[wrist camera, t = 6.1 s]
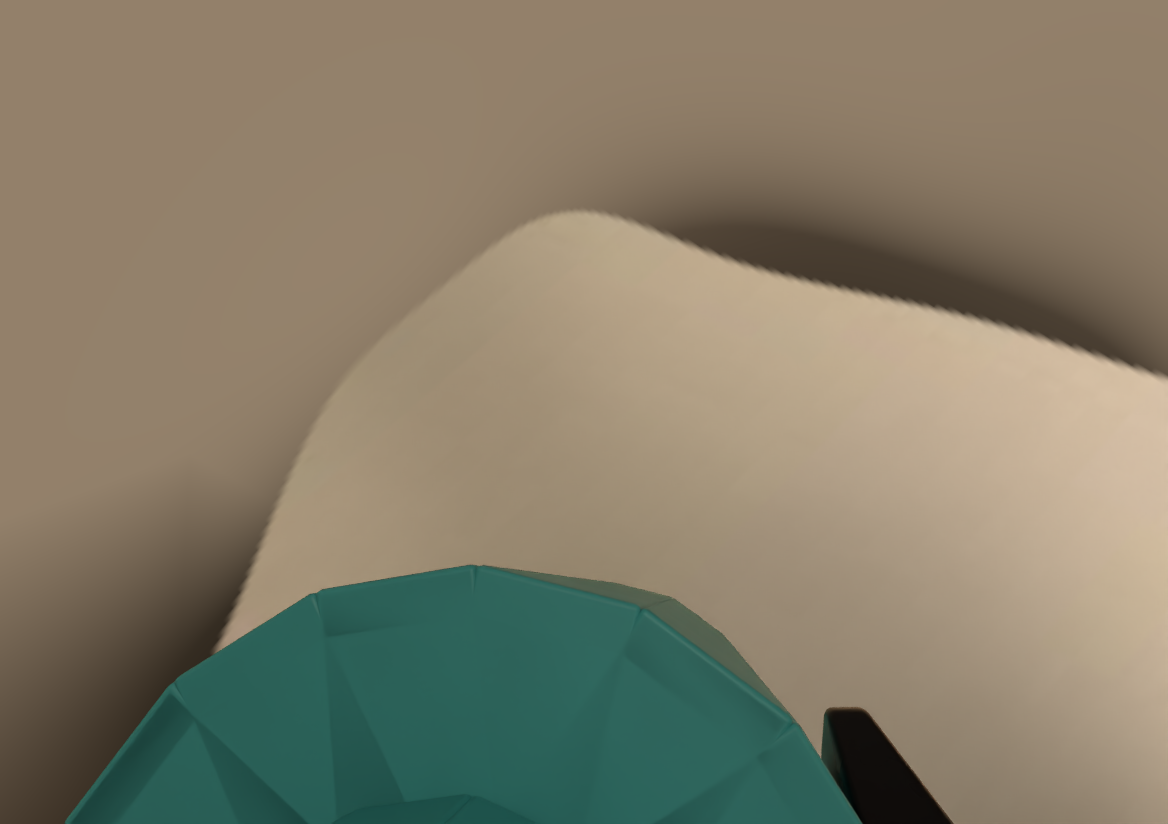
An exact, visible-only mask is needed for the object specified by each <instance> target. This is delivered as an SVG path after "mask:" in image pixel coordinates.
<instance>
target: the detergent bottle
mask: <svg viewBox="0 0 1168 824" xmlns="http://www.w3.org/2000/svg"><path fill="white" fill-rule="evenodd" d="M65 824H862V822H861V821H860V819H859V817H858V816H857V814H856V813H855V811H854V810H853V808H852V806H851V805H850V803H849V802H848V800H847V799H846V797H845V795H844V794H843V792H842V791H841V789H840V788H839V786H838V785H837V783H836V781H835V780H834V778H833V777H832V775H831V774H830V772H829V770H828V769H827V767H826V766H825V764H824V763H823V761H822V759H821V758H820V756H819V755H818V753H817V752H816V750H815V748H814V747H813V745H812V744H811V742H810V741H809V739H808V737H807V736H806V734H805V733H804V731H803V730H802V728H801V726H800V725H799V724H798V723H797V722H796V720H795V719H794V718H793V717H792V716H791V714H790V713H789V712H788V711H787V710H786V709H785V707H784V706H783V705H782V704H781V703H780V701H779V700H778V699H777V698H776V697H775V695H774V694H773V693H772V692H771V691H770V689H769V688H768V687H767V686H766V685H765V683H764V682H763V681H762V680H761V679H760V677H759V676H758V675H757V674H756V673H755V672H754V670H753V669H752V668H751V667H750V666H749V664H748V663H747V662H746V661H745V660H744V658H743V657H742V656H741V655H740V654H739V652H738V651H737V650H736V649H735V648H734V646H733V645H732V644H731V643H730V642H729V640H728V639H727V638H726V637H725V636H724V635H723V634H722V633H721V632H719V631H718V630H717V629H715V628H714V627H713V626H711V625H710V624H708V623H707V622H706V621H704V620H703V619H702V618H701V617H699V616H698V615H697V614H695V613H694V612H692V611H691V610H689V609H688V608H687V607H685V606H684V605H683V604H681V603H680V602H679V601H677V600H676V599H674V598H671V597H670V596H666V595H662V594H658V593H654V592H650V591H646V590H642V589H637V588H633V587H629V586H625V585H621V584H617V583H612V582H604V581H597V580H590V579H582V578H575V577H567V576H560V575H552V574H545V573H538V572H530V571H523V570H515V569H508V568H500V567H493V566H486V565H482V566H477V565H466V566H459V567H453V568H447V569H441V570H435V571H429V572H423V573H417V574H411V575H405V576H399V577H393V578H387V579H381V580H375V581H369V582H363V583H357V584H351V585H345V586H339V587H333V588H327V589H322V590H320V591H319V592H317V593H313V594H309V595H308V596H306V597H305V598H303V599H301V600H300V601H298V602H297V603H295V604H293V605H292V606H290V607H289V608H287V609H285V610H284V611H282V612H281V613H279V614H277V615H276V616H274V617H273V618H271V619H269V620H268V621H266V622H265V623H263V624H262V625H260V626H258V627H257V628H255V629H254V630H252V631H250V632H249V633H247V634H246V635H244V636H242V637H241V638H239V639H238V640H236V641H234V642H233V643H231V644H230V645H228V646H226V647H225V648H223V649H222V650H220V651H218V652H217V653H215V654H214V655H212V656H211V657H209V658H208V659H206V660H204V661H203V662H201V663H199V664H198V665H196V666H195V667H193V668H192V669H190V670H188V671H187V672H185V673H183V674H182V675H180V676H179V677H178V678H177V679H176V680H175V682H174V683H172V684H171V685H169V686H168V687H167V689H166V690H165V691H164V692H163V694H162V695H161V696H160V698H159V699H158V700H157V702H156V703H155V704H154V706H153V707H152V708H151V710H150V711H149V712H148V713H147V715H146V716H145V717H144V719H143V720H142V721H141V723H140V724H139V725H138V726H137V728H136V729H135V730H134V732H133V733H132V734H131V736H130V737H129V738H128V740H127V741H126V742H125V743H124V745H123V746H122V747H121V749H120V750H119V751H118V753H117V754H116V755H115V757H114V758H113V759H112V760H111V762H110V763H109V764H108V766H107V767H106V768H105V770H104V771H103V772H102V774H101V775H100V776H99V777H98V779H97V780H96V781H95V783H94V784H93V785H92V787H91V788H90V789H89V791H88V792H87V793H86V795H85V796H84V797H83V798H82V800H81V801H80V802H79V804H78V805H77V806H76V808H75V809H74V810H73V812H72V813H71V814H70V816H69V817H68V818H67V819H66V821H65Z"/></svg>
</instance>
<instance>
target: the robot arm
mask: <svg viewBox="0 0 1168 824" xmlns="http://www.w3.org/2000/svg"><path fill="white" fill-rule="evenodd" d="M821 759H822V761H823V763H824V764H825V766H826V767H827V769H828V770H829V772H830V774H831V775H832V777H833V778H834V780H835V781H836V783H837V785H838V786H839V788H840V789H841V791H842V792H843V794H844V795H845V797H846V799H847V800H848V802H849V803H850V805H851V806H852V808H853V810H854V811H855V813H856V814H857V816H858V817H859V819H860V821H861V822H862V824H954V823H953V822H952V821H951V819H950V818H949V817H948V815H947V814H946V813H945V812H944V810H943V809H942V808H941V806H940V805H939V804H938V802H937V801H936V800H935V799H934V797H933V796H932V795H931V793H930V792H929V791H928V789H927V788H926V787H925V786H924V784H923V783H922V782H921V780H920V779H919V778H918V776H917V775H916V774H915V773H914V771H913V770H912V769H911V767H910V766H909V765H908V763H907V762H906V761H905V760H904V758H903V757H902V756H901V754H900V753H899V752H898V750H897V749H896V748H895V746H894V745H893V744H892V743H891V741H890V740H889V739H888V737H887V736H886V735H885V733H884V732H883V731H882V730H881V728H880V727H879V726H878V724H877V723H876V722H875V720H874V719H873V718H872V717H871V715H870V714H869V713H868V712H867V711H866V710H864V709H863V708H860V707H832V708H828V709H827V710H826V712H825V714H824V723H823V737H822V752H821Z"/></svg>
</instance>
